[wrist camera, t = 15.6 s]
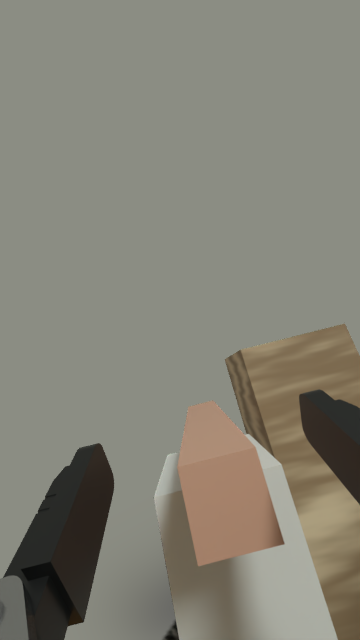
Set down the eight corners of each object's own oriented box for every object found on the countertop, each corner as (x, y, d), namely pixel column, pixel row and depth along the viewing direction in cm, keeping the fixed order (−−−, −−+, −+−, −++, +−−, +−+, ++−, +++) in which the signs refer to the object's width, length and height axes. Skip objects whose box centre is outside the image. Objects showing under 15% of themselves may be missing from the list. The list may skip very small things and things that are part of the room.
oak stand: (493, 649, 21) (344, 323, 29) (348, 690, 20) (240, 349, 29) (373, 542, 34) (295, 341, 43) (285, 566, 34) (224, 359, 42)
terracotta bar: (284, 543, 9) (255, 447, 10) (198, 566, 9) (176, 467, 10) (220, 427, 30) (213, 400, 31) (194, 433, 30) (188, 406, 31)
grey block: (478, 1076, 9) (281, 464, 15) (269, 1140, 9) (153, 497, 15) (339, 739, 18) (248, 433, 24) (231, 770, 18) (167, 454, 24)
